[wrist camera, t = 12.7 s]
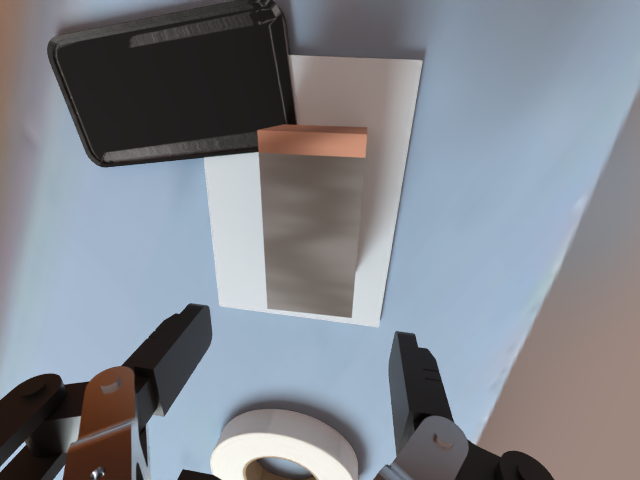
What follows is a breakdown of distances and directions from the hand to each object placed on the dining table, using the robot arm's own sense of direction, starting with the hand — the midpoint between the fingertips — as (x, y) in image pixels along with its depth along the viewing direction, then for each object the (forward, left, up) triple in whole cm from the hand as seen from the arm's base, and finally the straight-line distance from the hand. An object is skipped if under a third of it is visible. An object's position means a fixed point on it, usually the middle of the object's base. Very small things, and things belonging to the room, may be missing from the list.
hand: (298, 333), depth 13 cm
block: (0, -2, -7) cm, 7 cm away
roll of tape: (-3, -26, -10) cm, 28 cm away
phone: (-10, +9, -10) cm, 17 cm away
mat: (-2, +2, -10) cm, 10 cm away
